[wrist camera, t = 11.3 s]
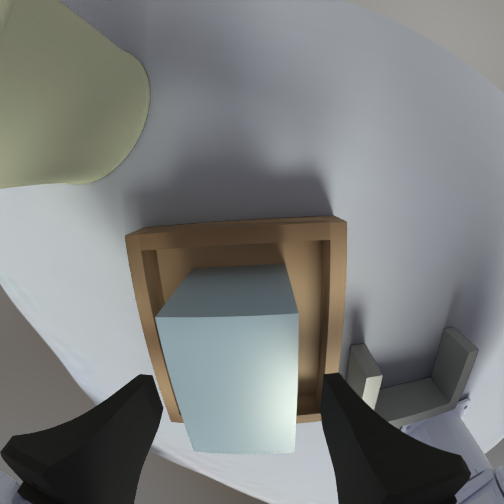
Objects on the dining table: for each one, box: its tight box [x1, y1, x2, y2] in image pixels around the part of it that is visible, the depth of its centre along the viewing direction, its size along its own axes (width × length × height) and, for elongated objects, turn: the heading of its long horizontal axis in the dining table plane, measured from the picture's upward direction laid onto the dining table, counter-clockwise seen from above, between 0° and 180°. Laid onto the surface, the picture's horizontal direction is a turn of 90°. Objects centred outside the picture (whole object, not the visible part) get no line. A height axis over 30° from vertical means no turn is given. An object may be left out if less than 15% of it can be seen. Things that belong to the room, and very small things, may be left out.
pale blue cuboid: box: [155, 263, 299, 454], centre depth 13 cm, size 8×5×6 cm, turn 4°
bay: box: [346, 327, 479, 428], centre depth 15 cm, size 6×9×4 cm, turn 94°
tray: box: [125, 215, 347, 423], centre depth 15 cm, size 13×11×2 cm
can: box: [0, 0, 150, 189], centre depth 8 cm, size 9×9×12 cm
